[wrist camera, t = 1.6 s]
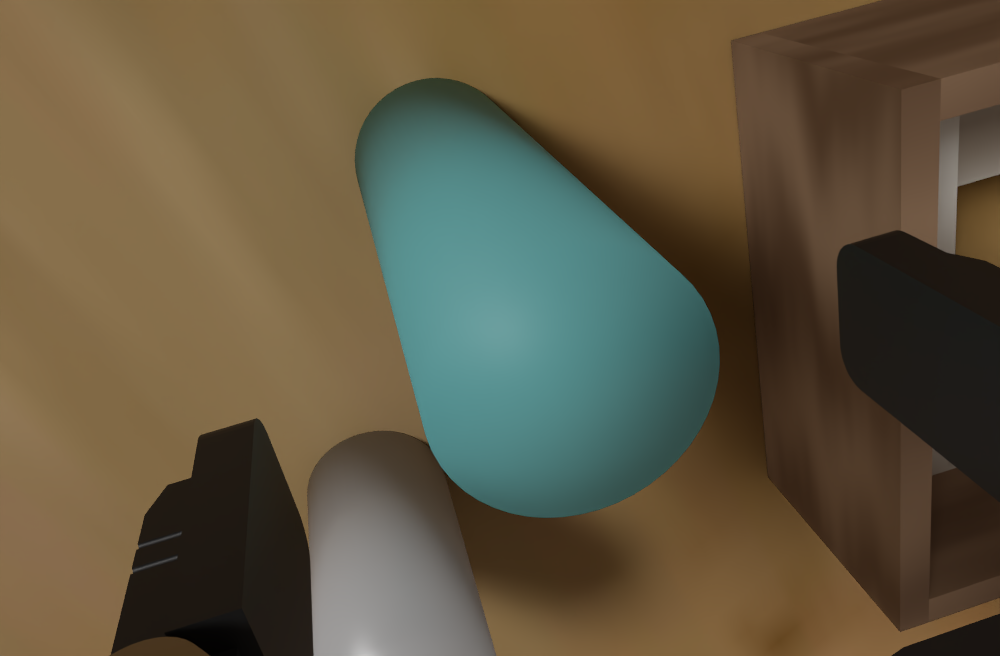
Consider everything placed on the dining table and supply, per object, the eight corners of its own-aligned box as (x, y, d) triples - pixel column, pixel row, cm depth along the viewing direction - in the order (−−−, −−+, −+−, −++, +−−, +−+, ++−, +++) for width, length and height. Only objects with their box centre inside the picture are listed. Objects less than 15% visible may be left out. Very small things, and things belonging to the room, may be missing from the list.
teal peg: (334, 101, 21) (384, 296, 10) (496, 59, 21) (704, 204, 11) (379, 254, 23) (461, 553, 12) (527, 213, 23) (732, 467, 12)
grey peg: (288, 455, 25) (290, 674, 18) (426, 413, 25) (482, 611, 18) (330, 562, 26) (347, 799, 19) (458, 522, 27) (520, 739, 20)
